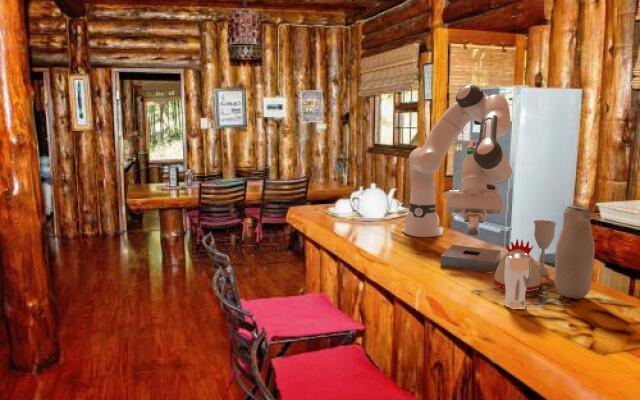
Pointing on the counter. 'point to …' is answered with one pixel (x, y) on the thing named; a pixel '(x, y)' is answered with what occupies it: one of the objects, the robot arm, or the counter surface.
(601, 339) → the counter surface
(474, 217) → the bushing
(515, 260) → the beer glass
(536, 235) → the chalice
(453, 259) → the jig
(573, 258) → the glass bottle
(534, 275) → the kitchen timer
